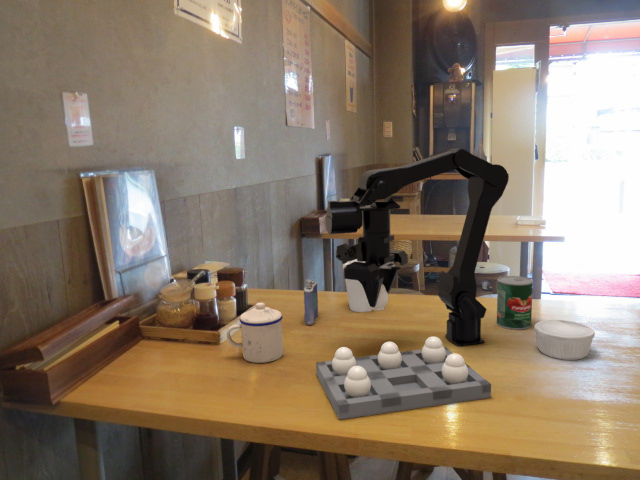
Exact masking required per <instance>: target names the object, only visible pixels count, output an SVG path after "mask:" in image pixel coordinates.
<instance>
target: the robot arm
mask: <svg viewBox="0 0 640 480" xmlns="http://www.w3.org/2000/svg"><path fill="white" fill-rule="evenodd" d="M451 171H455V172H456V173H458V174H459V175H460V176H461V177H463V178H465V179H466V180H468V181H467V193H468V200H469V203H468V207H467V208H468V209H467V212H466V215H465V219H464V222H463V227H462V230H461V234H460V238H459V242H458V245H457V249H456V254H455V257H454V260H453V264H452V265H451V267H450V269H448V271H443V270H442V271H441V272H440V275H439V282H438V284H437V285H436V287H435V288H436V289H437V291H438V292H437V294H438V297H439V300H440V301H441V302H442V303H444V305H445V307H446V309H447V310H448V311H450V312H448V319H446V334H445V336H444V337H445V338H447V339H448V340H450V341H451V342H452V343H453V344H454V345H456V346H459V347H463V346H469V345H476V344H477V345H478V344H484V343H485V339H483V338H482V337H481V333H482V331H481V329H482V319H484V318H485V315H486V313H487V308H486V307H485V306H484V305H483V304H482V303H481V302H480V301H479V300H478V299H477V290H478V285H477V277H476V268H477V265H478V261H479V258H480V254H481V250H482V248H483V247H482V246H483V243H484V239H485V237H486V236H485V235H486V232H487V229H488V225H489V221H490V216H491V215H492V213H491V212H492V210H493V208H494V206H495V205H496V204H497V203H498V202H499V200H500V199H501V198H502V196H503V194H504V192H505V190H506V188H507V186H508V183H509V178H510V177H509V175H510V174H509V172H508V171H507V169H506V168H505V167H504V166H503V165H501V164H496V163H491V162H489V161H487V160H485V159H482V158H480V157H479V156H476V155H474V154H472V153H470V152H469V151H468V150H466V149H464V148H451V149H448V150H447V151H445V152H442V153H439V154H438V153H437V154H436V155H432V156H430V157H426V158H424V159H420V160H417V161H413V162H410V163H408V164H407V163H406V164H404V165H401V166H396V167H387V168H377V169H376V168H375V169H370V170H367V171H364V172H363V173H362V174H361V175H360V178H359V180H358V186H357V188H356V190H355V191H354V193H353V194H352V196H351V197H350V198H349V200H341V201H339V200H328V201H327V208H326V215H325V220H324V221H325V227H326V232H327V234H328V235H329V236H330V235H340V234H341V235H344V234H356V233H357V232H358V230H360V229H361V228H362V235H360V236H359V237H358V238H357V243H356V244H354V245H351V246H349V245H348V243H343V244H340V245H337V246H336V251H335V252H336V255H335V258H336V259H337V260H338V261H340V262H341V265H343V264H345V263H347V262H350V261H352V260H355V259H357V261H358V262H353V263H351V264H348V265H347V266H346V267H345V268H344V269H343V268H342V272H343V279H344V280H345V279H351V280H358V281H359V282H360V283H361V284H362V286H363V289H364V291H365V294H366V297H367V299H368V302H369V305H370V307H375V306H376V303H377V300H378V296H379V293H380V289H381V285H382V284H383V285H384V286H385V289H386V291H387V293H388V295H389V294H390V291H391V289H392V287H393V285H394V283H395V281H396V279H397V276H398V275H399V273H400V271H401V270H402V267H401V266H405V265H406V264H408V263H409V262H408V261H409V255H408V253H407V252H406V251H405V250H401V249H391V248H392V247H391V246H392V245H391V244H392V241H394V240H395V235H394V234H391V210H399V209H401V205H400V204H398V203H397V202H396V201H395V200H394V197H392V196H393V195H395V194H396V193H398V192H399V191H401V190H402V189H404V188H405V187H406V186H409V185H410V184H414V183H417V182H420V181H423V180H426V179H429V178H432V177H435V176H438V175H441V174H444V173H447V172H451ZM382 200H383V201H382ZM363 261H364V262H363ZM396 263H399V265H400V266H396Z"/></svg>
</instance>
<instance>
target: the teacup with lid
mask: <svg viewBox="0 0 640 480" xmlns="http://www.w3.org/2000/svg"><path fill="white" fill-rule="evenodd" d="M282 319H283V315H282V312H281V311H279V310H278V309H274V308H271V307H268V306H266V304H265V302H256V304H255V307H253V308H251V309H249V310H248V311H245V312H243V313H241V315H240V318H239V323H240V324H233V325H230V326H229V328H228V329H227V331H226V339H227V341H228V343H229V344H230V345H231V346H232V347H235V348H242V356H243V358H244V360H245V361H248V362H249V363H254V364H266V363H270V362H273V361H276V360H279V359H281V357H283V355H284V344H283V343H284V342H283V324H282ZM237 329H240V330H241V342H236V341H234V340H233V339H232V337H231V332H232V331H233V330H237Z"/></svg>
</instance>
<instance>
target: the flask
mask: <svg viewBox="0 0 640 480" xmlns="http://www.w3.org/2000/svg"><path fill="white" fill-rule="evenodd" d="M304 282H305V283H306V285H305V286H304V287H303V288H304V289H303V301H304V302H303V304H304V324H305V325H306V326H309V327H310V326H313V325H315V323H316V321H317V319H318V317H319V307H318V305H319V304H318V303H319V300H318V296H319V295H318V283H317V282H315V281H314V280H311V279H305V281H304Z"/></svg>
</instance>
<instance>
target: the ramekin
mask: <svg viewBox="0 0 640 480" xmlns="http://www.w3.org/2000/svg"><path fill="white" fill-rule="evenodd" d="M533 327H534V329H533V330H534V333H535V339H536V345H537V347H538V350H539V351H540V352H541V353H542V354H544V355H545V356H548V357H550V358H554V359H558V360H564V361H565V360H566V361H576V360H581V359H584V358H585V357H587V356H588V355H589V354H590V350H591V346H592V342H593V339H594V338H595V330H594V329H593V328H592V327H590V326H588V325H587V324H583V323H581V322H577V321H573V320H566V319H545V320H541V321H538V322H536V323H535V324H534V326H533Z"/></svg>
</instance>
